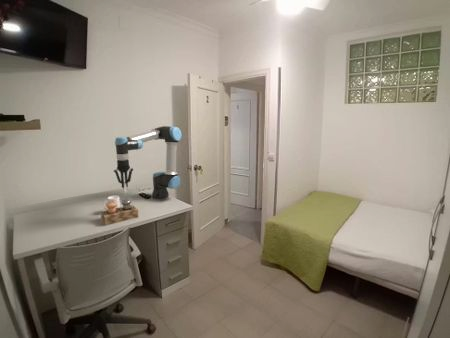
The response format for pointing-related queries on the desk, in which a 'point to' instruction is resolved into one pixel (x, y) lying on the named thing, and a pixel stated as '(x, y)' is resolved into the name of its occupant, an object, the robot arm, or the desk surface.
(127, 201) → the ball grey
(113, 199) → the mug
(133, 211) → the block
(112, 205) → the peach ball
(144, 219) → the desk surface
